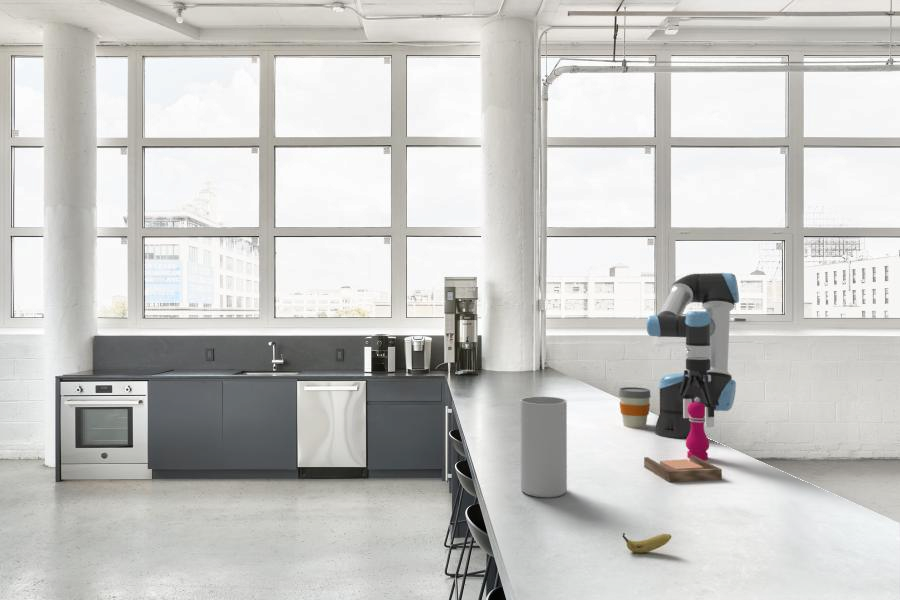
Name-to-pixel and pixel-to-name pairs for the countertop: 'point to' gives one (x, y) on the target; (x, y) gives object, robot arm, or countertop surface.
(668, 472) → the walnut frame
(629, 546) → the banana
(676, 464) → the terracotta tile
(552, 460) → the cylinder vase
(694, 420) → the pepper mill
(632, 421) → the reusable coffee cup
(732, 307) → the robot arm
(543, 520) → the countertop surface
